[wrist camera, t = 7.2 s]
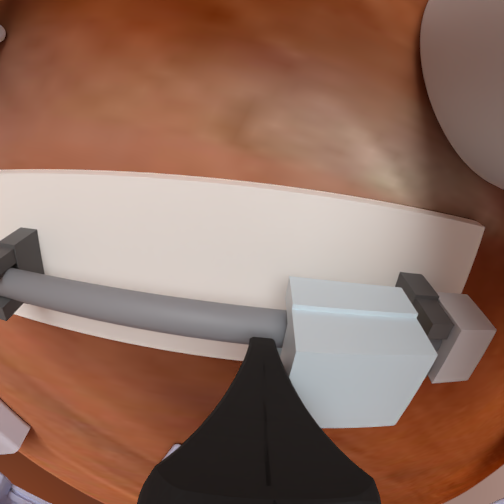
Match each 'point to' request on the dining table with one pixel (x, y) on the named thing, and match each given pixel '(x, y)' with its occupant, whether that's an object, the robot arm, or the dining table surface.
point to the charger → (11, 430)
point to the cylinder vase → (467, 79)
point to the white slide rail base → (222, 259)
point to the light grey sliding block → (353, 351)
